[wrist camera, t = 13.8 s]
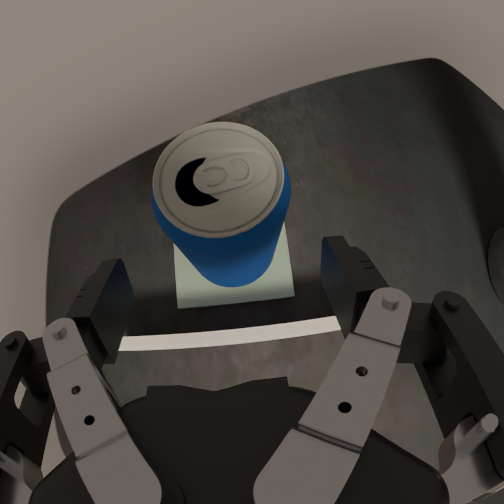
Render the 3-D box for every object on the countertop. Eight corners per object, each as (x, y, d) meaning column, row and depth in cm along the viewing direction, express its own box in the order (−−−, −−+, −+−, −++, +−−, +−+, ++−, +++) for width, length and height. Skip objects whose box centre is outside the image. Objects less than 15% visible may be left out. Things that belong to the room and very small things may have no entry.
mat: (278, 191, 26) (278, 188, 25) (293, 296, 24) (294, 295, 23) (173, 203, 26) (172, 200, 25) (179, 308, 24) (177, 308, 23)
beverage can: (183, 222, 25) (134, 138, 13) (259, 200, 25) (265, 101, 14) (204, 299, 23) (159, 268, 12) (285, 274, 24) (317, 220, 12)
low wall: (351, 313, 23) (366, 310, 20) (352, 325, 23) (368, 324, 20) (129, 336, 23) (111, 337, 20) (130, 348, 23) (112, 350, 19)
